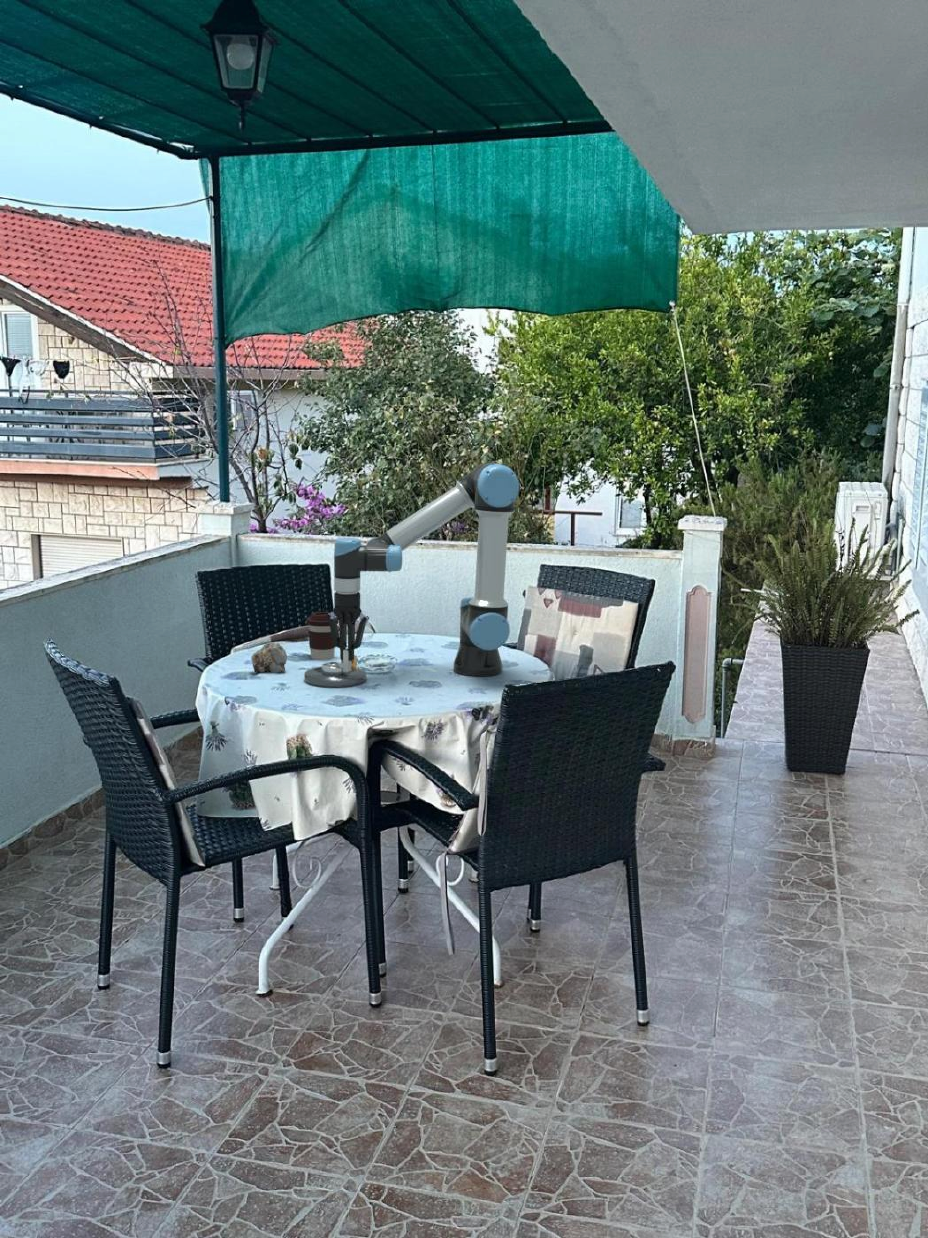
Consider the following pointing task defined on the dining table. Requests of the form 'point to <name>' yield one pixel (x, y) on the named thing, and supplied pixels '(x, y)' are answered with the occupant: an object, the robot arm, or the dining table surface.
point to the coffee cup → (320, 636)
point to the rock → (269, 658)
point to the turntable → (336, 677)
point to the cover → (333, 669)
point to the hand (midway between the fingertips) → (347, 671)
